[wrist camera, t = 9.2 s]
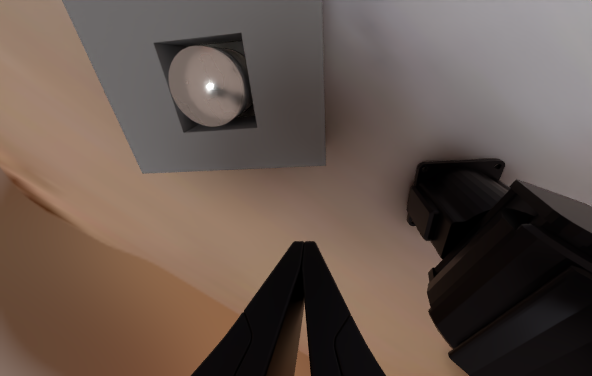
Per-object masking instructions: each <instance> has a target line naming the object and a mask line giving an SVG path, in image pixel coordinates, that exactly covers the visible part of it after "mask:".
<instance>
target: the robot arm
mask: <svg viewBox="0 0 592 376" xmlns="http://www.w3.org/2000/svg"><path fill="white" fill-rule="evenodd" d="M496 164H498V165H497V166H496V167H494V166H495V165H496ZM424 167H427V168H426V169H425V170H422V169H423V168H424ZM504 167H505V163H504V162H503V161H501V160H500V159H482V160H459V161H435V162H422V163H420V164H419V165H418V167H417V171H416V176H415V181H414V185H413V186H412V187H411V189H410V194H409V200H408V205H407V212H408V218H407V222H408V223H409V225H411V226H416V227H417V229H418V231H419V232H420V234H421V236H422V237H423V239H425V240H426V241H431V243H432V244H433V246H434V247H435V249H436V251H437V252H438V254H439V256H440V257H441V258H442V259H443V260H442V261H441V262H440V263H439V264H438V265H437V266H436V267H435V268H432V269H431V270H430V271H429V272H428V275H429V284H428V289H427V295H428V299H429V303H430V306H431V308H430V309H429V311H428V312H429V315H430V317H431V319H432V321H433V323H434V324H435V326H436V328H437V330H438V331H439V332H440V334H441V335H442V337H443V338H444V339H445V341H446V342H447V343H448V344H449V346H450V347H451V348H452V349H453V350H451V351H450V352H449V353H448V355H449V357H450V359H451V360H452V361H453V362H454V363H456V364H457V365H458V366H459V367H460V368H461V369H463V370H464V371H465V372H466V373H467V374H468V375H469V376H592V207H591V206H589V205H587V204H585V203H582V202H580V201H577V200H574V199H571V198H568V197H565V196H563V195H560V194H557V193H554V192H551V191H548V190H546V189H543V188H540V187H537V186H534V185H532V184H529V183H526V182H523V181H520V180H517V179H516V180H515V181H514V182H513V184H512V185H511V186H510V187H508V186H507V185H505V184H504V183H502V182H501V181H499V179H500V177H501V174H502V172H503V169H504ZM412 220H413V221H412ZM304 303H305V312H306V324H307V336H308V347H309V359H310V370H311V376H386V375H385V374H384V372H383V370H382V369H381V367H380V366H379V364H378V363H377V361H376V359H375V358H374V356H373V354H372V353H371V351H370V349H369V348H368V346H367V344H366V342H365V341H364V339H363V337H362V335H361V333H360V331H359V329H358V327H357V325H356V323H355V321H354V319H353V317H352V316H351V314H350V311H349V309H348V307H347V305H346V303H345V301H344V299H343V297H342V295H341V293H340V291H339V289H338V287H337V285H336V283H335V281H334V279H333V277H332V275H331V273H330V271H329V269H328V267H327V265H326V263H325V261H324V259H323V257H322V255H321V253H320V251H319V248H318V246H317V244H316V243H315V242H314V241H306V242H305V243H304V242H303V241H295V242H293V243H292V245H291V246H290V247H289V249H288V250H287V252H286V253H285V254H284V256H283V257H282V258H281V260H280V261H279V263H278V264H277V265H276V267H275V268H274V270H273V271H272V272H271V274H270V275H269V277H268V278H267V279H266V281H265V282H264V283H263V285H262V286H261V288H260V289H259V290H258V292H257V293H256V295H255V296H254V297H253V299H252V300H251V301H250V303H249V304H248V306H247V307H246V308H245V310H244V312H243V313H242V314H241V315H240V316H239V318H238V320H237V321H236V322H235V324H234V325H233V326H232V327H231V329H230V330H229V331H228V333H227V334H226V335H225V337H224V338H223V339H222V340H221V341H220V342H219V344H218V345H217V346H216V347H215V348H214V350H213V351H212V352H211V353H210V354H209V356H208V357H207V358H206V359H205V360H204V361H203V362H202V363H201V365H200V366H199V367H198V368H197V369H196V370H195V371H194V373H193V374H192V375H191V376H294V373H295V365H296V359H297V352H298V345H299V338H300V331H301V324H302V317H303V310H304Z"/></svg>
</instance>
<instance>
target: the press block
mask: <svg viewBox="0 0 592 376" xmlns="http://www.w3.org/2000/svg"><path fill="white" fill-rule="evenodd" d="M62 1H63V3H64V6H65V8H66V10H67V12H68V14H69V16H70V18H71V21H72V23H73V25H74V27H75V29H76V31H77V34H78V36H79V38H80V40H81V42H82V44H83V46H84V49H85V51H86V53H87V55H88V57H89V59H90V61H91V64H92V66H93V68H94V70H95V72H96V74H97V77H98V79H99V81H100V83H101V85H102V87H103V89H104V92H105V94H106V96H107V98H108V100H109V102H110V105H111V107H112V109H113V111H114V113H115V115H116V117H117V120H118V122H119V124H120V126H121V128H122V130H123V132H124V135H125V137H126V139H127V141H128V143H129V145H130V148H131V150H132V152H133V154H134V156H135V158H136V160H137V163H138V165H139V167H140V169H141V171H142V173H166V172H189V171H213V170H236V169H259V168H282V167H305V166H326V147H325V103H324V60H323V16H322V0H62ZM240 40H243V46H244V52H245V58H246V64H247V69H248V75H249V81H250V87H251V93H252V99H253V105H254V111H255V116H248V117H235V118H234V119H232V120H231V121H229V122H228V123H226V124H224V125H221V126H215V127H210V126H205V125H201V124H199V123H196V122H195V121H193V120H191V119H190V118H188V117H187V116H186V115H185V114H184V113H183V112H182V111H181V110H180V108H179V107H178V106H177V104H176V103H175V101H174V99H173V97H172V94H171V91H170V87H169V78H168V76H169V69H170V65H171V62H172V61H173V59H174V57H175V56H176V55H177V54H178V53H179V52H180V51H181V50H183V49H185V48H187V47H189V46H196V45H205V44H213V43H222V42H231V41H240Z"/></svg>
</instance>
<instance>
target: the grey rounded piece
mask: <svg viewBox="0 0 592 376" xmlns="http://www.w3.org/2000/svg"><path fill="white" fill-rule="evenodd" d="M168 78H169V87H170V91H171V94H172V97H173V99H174V101H175V103H176V104H177V106H178V107H179V108H180V110H181V111H182V112H183V113H184V114H185V115H186V116H187V117H188V118H190V119H191V120H193V121H195V122H196V123H199V124H201V125H205V126H210V127H215V126H221V125H224V124H226V123H228V122H229V121H231V120H232V119H234V118H235V117H236V116H238V115H239V114H241V113H242V112H244V111H245V110H247V109H248V108H249V107H250V106H251V105H252V104H253V99H252V93H251V87H250V81H249V75H248V69H247V64H246V58H245V57H244V56H243V55H241V54H240V53H238V52H236V51H234V50H231V49H224V48H215V47H207V46H190V47H187V48H185V49H183V50H181V51H180V52H179V53H178V54H177V55H176V56H175V57H174V59H173V61H172V62H171V65H170V69H169V76H168Z"/></svg>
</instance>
